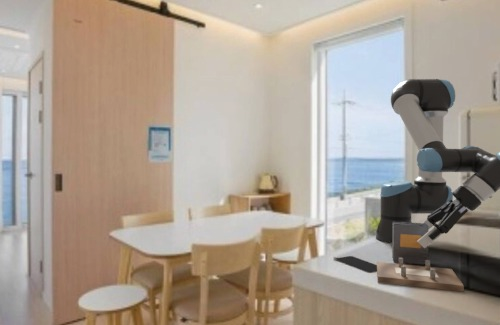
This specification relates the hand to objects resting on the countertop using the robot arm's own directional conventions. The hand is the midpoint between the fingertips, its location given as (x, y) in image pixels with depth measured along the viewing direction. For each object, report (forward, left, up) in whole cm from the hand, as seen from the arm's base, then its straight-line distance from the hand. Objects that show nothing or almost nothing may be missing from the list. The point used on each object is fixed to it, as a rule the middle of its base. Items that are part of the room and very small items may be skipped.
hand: (417, 239), depth 112 cm
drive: (0, -2, -7) cm, 8 cm away
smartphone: (+17, -9, -8) cm, 21 cm away
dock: (+14, +8, -7) cm, 18 cm away
